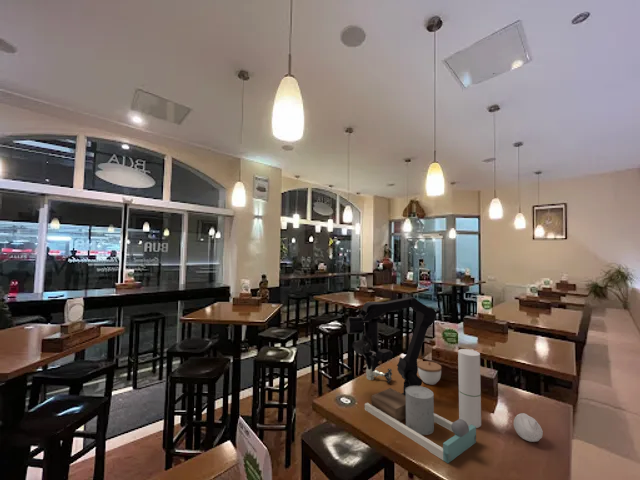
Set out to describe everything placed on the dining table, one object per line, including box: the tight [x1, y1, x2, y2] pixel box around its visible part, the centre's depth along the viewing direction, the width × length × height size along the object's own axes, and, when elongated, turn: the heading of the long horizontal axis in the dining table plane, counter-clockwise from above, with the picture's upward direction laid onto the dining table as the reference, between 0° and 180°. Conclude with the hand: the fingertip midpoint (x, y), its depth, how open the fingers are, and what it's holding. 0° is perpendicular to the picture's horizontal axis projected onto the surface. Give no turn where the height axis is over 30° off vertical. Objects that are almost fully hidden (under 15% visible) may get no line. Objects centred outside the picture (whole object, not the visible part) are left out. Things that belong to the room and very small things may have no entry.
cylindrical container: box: [457, 348, 482, 429], centre depth 105 cm, size 7×7×25 cm
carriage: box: [371, 387, 406, 423], centre depth 111 cm, size 11×12×5 cm
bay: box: [364, 402, 477, 464], centre depth 102 cm, size 16×36×9 cm, turn 35°
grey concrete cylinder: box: [405, 385, 435, 436], centre depth 102 cm, size 10×10×12 cm
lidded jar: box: [417, 360, 442, 385], centre depth 138 cm, size 11×11×9 cm
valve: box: [365, 366, 393, 384], centre depth 139 cm, size 7×7×12 cm
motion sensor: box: [513, 412, 544, 443], centre depth 95 cm, size 8×8×8 cm
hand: (371, 370), depth 121 cm, fingers closed
